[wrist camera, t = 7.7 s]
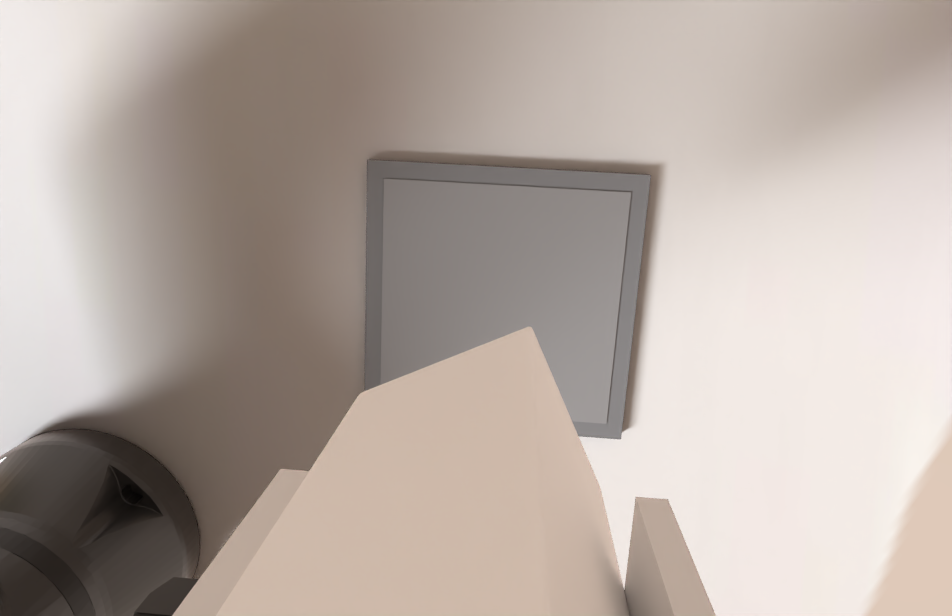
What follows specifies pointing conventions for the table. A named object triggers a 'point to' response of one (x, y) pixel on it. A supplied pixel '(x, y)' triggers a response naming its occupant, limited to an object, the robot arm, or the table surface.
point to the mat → (506, 273)
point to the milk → (445, 504)
